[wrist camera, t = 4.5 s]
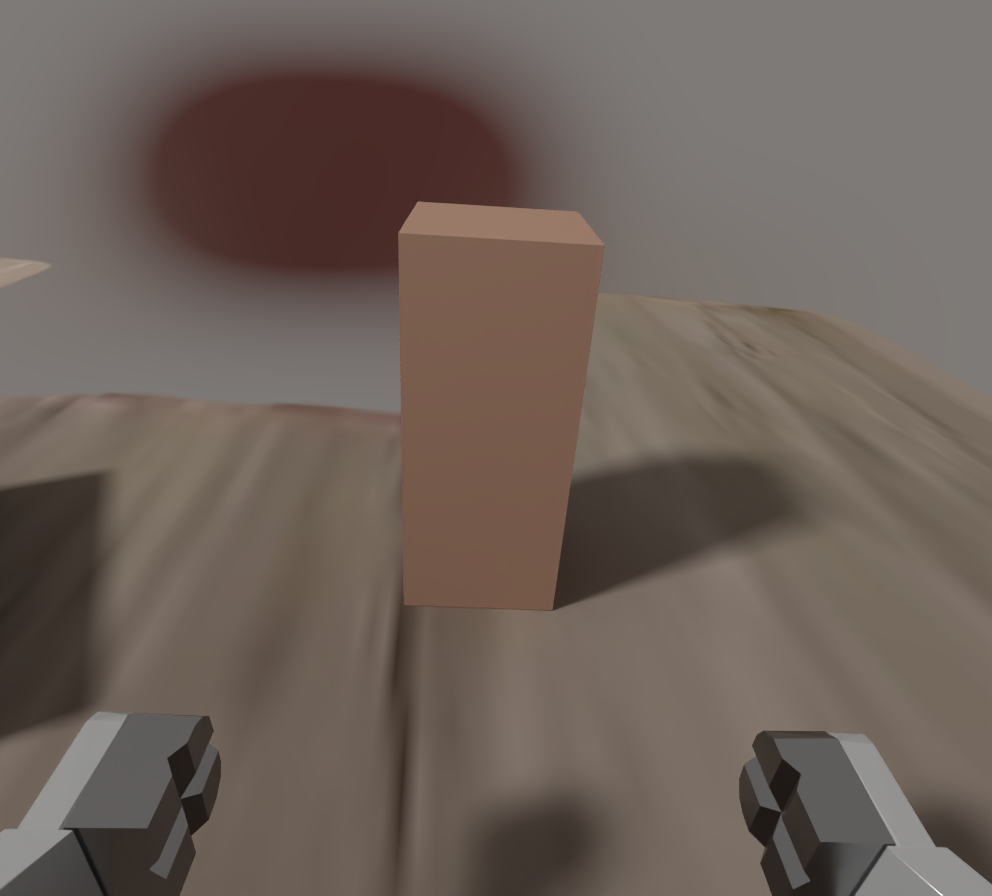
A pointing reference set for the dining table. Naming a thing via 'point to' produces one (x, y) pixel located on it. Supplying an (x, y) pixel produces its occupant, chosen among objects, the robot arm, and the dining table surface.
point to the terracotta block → (491, 397)
